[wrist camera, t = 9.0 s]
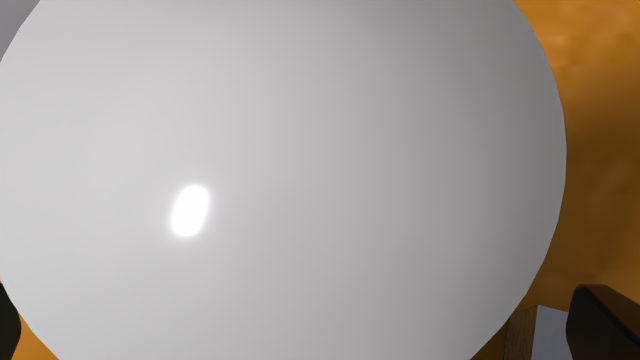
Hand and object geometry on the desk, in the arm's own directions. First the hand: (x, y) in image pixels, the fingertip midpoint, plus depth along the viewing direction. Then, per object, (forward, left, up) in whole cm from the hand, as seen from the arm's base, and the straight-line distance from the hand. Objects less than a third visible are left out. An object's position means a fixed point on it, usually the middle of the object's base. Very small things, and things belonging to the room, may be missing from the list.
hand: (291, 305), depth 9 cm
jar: (+1, 0, -9) cm, 9 cm away
